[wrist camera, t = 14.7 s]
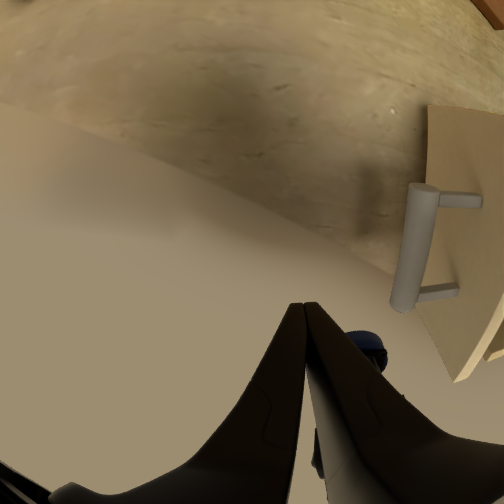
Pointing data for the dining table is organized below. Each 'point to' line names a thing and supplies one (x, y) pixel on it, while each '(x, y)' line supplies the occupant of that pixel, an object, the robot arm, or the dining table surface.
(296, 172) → the dining table surface
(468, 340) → the drawer
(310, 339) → the robot arm
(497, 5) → the wall art
